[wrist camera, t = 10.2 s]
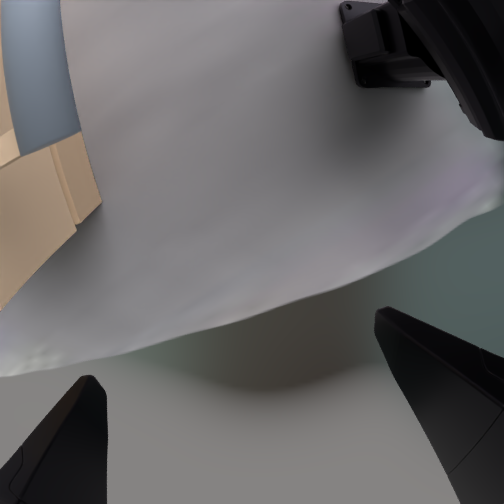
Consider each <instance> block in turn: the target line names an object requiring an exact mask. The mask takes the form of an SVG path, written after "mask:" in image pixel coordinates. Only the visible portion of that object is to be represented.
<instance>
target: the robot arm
mask: <svg viewBox="0 0 504 504" xmlns="http://www.w3.org/2000/svg"><path fill="white" fill-rule="evenodd" d="M345 5H346V6H348V7H349V10H347V9H346V7H345ZM339 8H340V12H341V16H342V20H343V25H342V28H343V32H344V36H345V41H346V45H347V50H348V55H349V58H350V59H351V60H352V64H353V69H354V75H355V80H356V83H357V85H358V86H359V87H360V88H380V87H422V88H427V87H429V86H430V85H431V80H447V82H448V84H449V85H450V87H451V89H452V90H453V92H454V94H455V96H456V97H457V99H458V101H459V103H460V104H459V106H460V108H461V110H462V111H463V113H464V114H466V115H467V117H468V119H469V121H470V123H471V124H473V125H474V126H475V127H477V128H478V129H479V130H481V131H482V132H483V135H484V136H485V137H488V138H491V139H494V140H498V141H504V0H388V2H386V3H383V4H378V3H368V2H357V1H344V2H342V3H341V4H340V6H339ZM362 78H364V79H365V84H363V83H362ZM424 81H425V83H424ZM374 333H375V336H376V339H377V341H378V343H379V345H380V347H381V350H382V352H383V354H384V356H385V359H386V361H387V363H388V366H389V368H390V370H391V372H392V374H393V376H394V378H395V380H396V382H397V384H398V385H399V387H400V389H401V390H402V392H403V394H404V396H405V397H406V399H407V401H408V403H409V405H410V406H411V408H412V410H413V411H414V413H415V415H416V417H417V419H418V421H419V423H420V424H421V426H422V428H423V430H424V432H425V434H426V435H427V437H428V439H429V441H430V443H431V445H432V447H433V449H434V451H435V452H436V454H437V456H438V458H439V460H440V462H441V464H442V466H443V468H444V470H445V472H446V474H447V475H448V478H449V481H450V482H451V485H452V487H453V489H454V491H455V493H456V495H457V497H458V499H459V501H460V504H504V358H503V357H500V356H498V355H496V354H493V353H491V352H489V351H487V350H484V349H482V348H479V347H477V346H476V345H473V344H471V343H469V342H467V341H465V340H462V339H460V338H458V337H456V336H454V335H452V334H449V333H447V332H445V331H443V330H440V329H438V328H436V327H434V326H432V325H429V324H427V323H425V322H423V321H420V320H418V319H416V318H414V317H412V316H410V315H407V314H405V313H403V312H401V311H398V310H396V309H394V308H392V307H389V306H386V307H383V308H380V309H378V310H376V313H375V324H374ZM107 446H108V423H107V395H106V392H105V390H104V389H103V387H102V386H101V385H100V383H99V382H98V381H97V380H96V378H95V377H94V376H92V375H85V376H81V377H80V378H79V379H78V380H77V381H76V382H75V383H74V385H73V386H72V387H71V388H70V389H69V390H68V391H67V392H66V394H65V395H64V396H63V397H62V398H61V399H60V400H59V402H58V403H57V404H56V405H55V406H54V407H53V408H52V410H51V411H50V412H49V413H48V414H47V415H46V416H45V418H44V419H43V420H42V421H41V422H40V424H39V425H38V426H37V427H36V428H35V429H34V431H33V432H32V433H31V434H30V435H29V436H28V438H27V439H26V440H25V441H24V443H23V444H22V445H21V446H20V447H19V448H18V450H17V451H16V452H15V453H14V454H13V456H12V457H11V458H10V459H9V460H8V461H7V463H6V464H5V465H4V466H3V467H2V468H1V469H0V504H107V449H108V447H107Z"/></svg>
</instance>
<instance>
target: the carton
mask: <svg viewBox="0 0 504 504" xmlns="http://www.w3.org/2000/svg"><path fill="white" fill-rule="evenodd" d="M49 148H50V152H51V155H52V159H53V162H54V166H55V169H56V172H57V176H58V179H59V182H60V185H61V188H62V191H63V194H64V197H65V200H66V203H67V206H68V208H69V211H70V214H71V217H72V219H73V222H74V224H75V225H76V224H79V223H81V222H82V221H83V220H84V219H85V218H86V217H87V216H88V215H89V214H90V213H91V212H92V211H93V210H94V209H95V208H96V207H97V206H98V205H99V204H101V203H102V200H101V197H100V194H99V191H98V188H97V185H96V182H95V178H94V175H93V172H92V169H91V165H90V162H89V158H88V155H87V151H86V148H85V144H84V140H83V137H82V133H81V131H80V132H79V133H77V134H75V135H73V136H71V137H68V138H66V139H64V140H62V141H60V142H57V143H55V144H53V145H50V146H49Z"/></svg>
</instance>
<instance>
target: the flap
mask: <svg viewBox="0 0 504 504" xmlns="http://www.w3.org/2000/svg"><path fill="white" fill-rule="evenodd" d="M80 131H81V126H80V122H79V118H78V113H77V109H76V105H75V100H74V95H73V91H72V86H71V80H70V75H69V70H68V64H67V58H66V51H65V44H64V37H63V29H62V20H61V9H60V0H0V311H1V310H2V309H3V308H4V306H5V305H6V304H7V303H8V302H9V301H10V299H11V298H12V297H13V296H14V295H15V294H16V293H17V291H18V290H19V289H20V288H21V287H22V286H23V285H24V284H25V283H26V281H27V280H28V279H29V278H30V277H31V276H32V275H33V274H34V273H35V272H36V271H37V270H38V269H39V268H40V267H41V266H42V265H43V264H44V263H45V261H46V260H47V259H48V258H49V257H50V256H51V255H52V254H53V253H54V252H55V251H56V250H57V249H58V248H60V247H61V246H62V245H63V244H64V243H65V242H66V241H67V240H68V239H69V238H70V237H71V236H72V235H73V234H74V233H75V232H76V231H77V230H76V227H75V224H74V222H73V219H72V217H71V214H70V211H69V208H68V206H67V203H66V200H65V197H64V194H63V191H62V188H61V185H60V182H59V179H58V176H57V172H56V169H55V166H54V162H53V159H52V155H51V152H50V148H49V146H50V145H53V144H55V143H57V142H60V141H62V140H64V139H66V138H68V137H71V136H73V135H75V134H77V133H79V132H80Z"/></svg>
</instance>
